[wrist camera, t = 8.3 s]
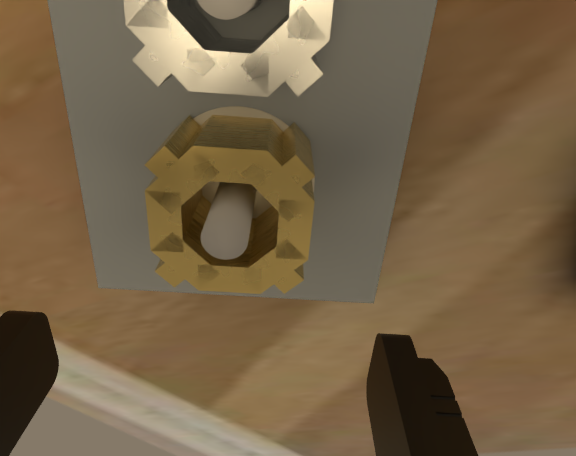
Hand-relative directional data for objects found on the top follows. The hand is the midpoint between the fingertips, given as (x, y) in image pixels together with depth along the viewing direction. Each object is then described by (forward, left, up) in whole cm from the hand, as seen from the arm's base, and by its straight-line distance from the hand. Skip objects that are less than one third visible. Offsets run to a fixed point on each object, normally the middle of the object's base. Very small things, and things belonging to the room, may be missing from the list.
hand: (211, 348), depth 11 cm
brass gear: (0, 0, -10) cm, 10 cm away
